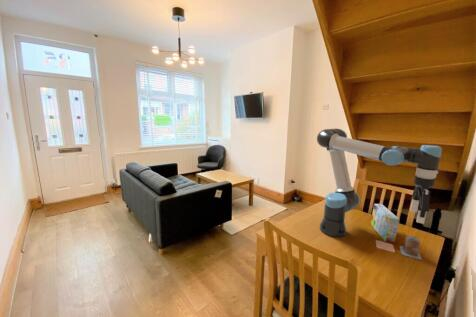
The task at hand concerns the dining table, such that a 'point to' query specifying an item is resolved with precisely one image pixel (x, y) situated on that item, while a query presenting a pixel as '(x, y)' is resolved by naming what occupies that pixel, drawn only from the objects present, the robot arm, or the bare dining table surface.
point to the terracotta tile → (385, 246)
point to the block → (411, 245)
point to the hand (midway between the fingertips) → (416, 216)
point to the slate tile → (408, 254)
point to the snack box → (385, 223)
